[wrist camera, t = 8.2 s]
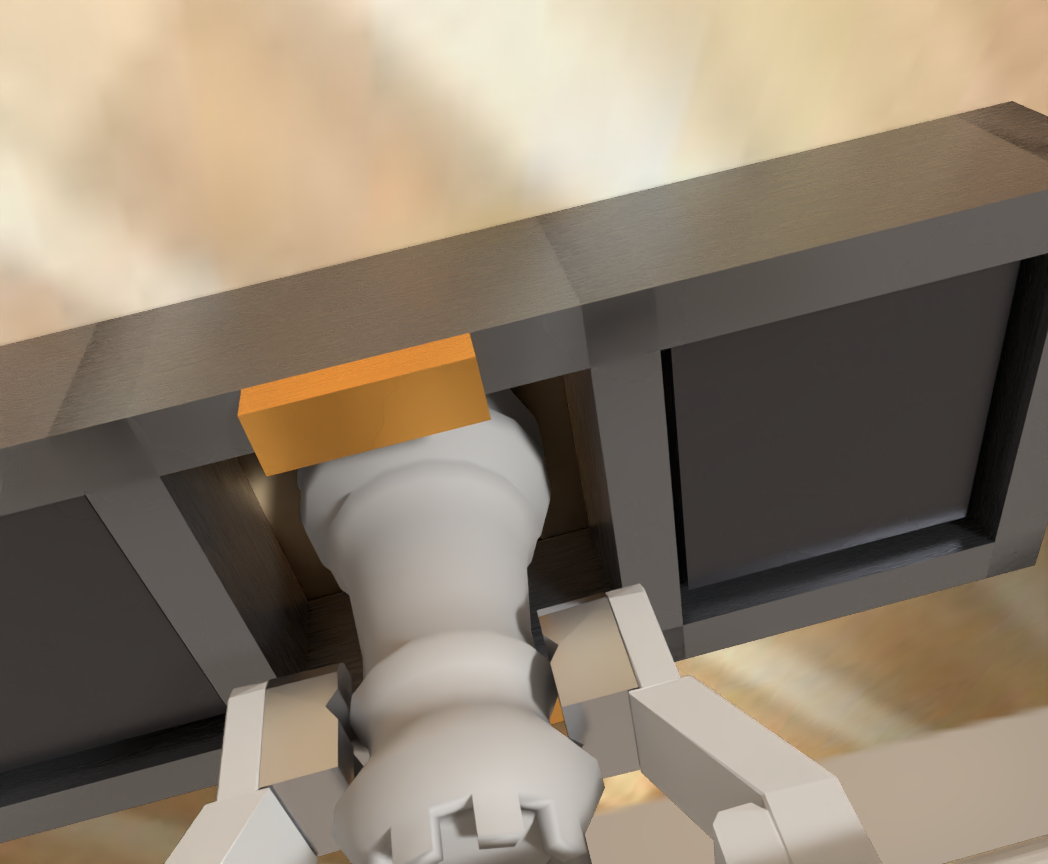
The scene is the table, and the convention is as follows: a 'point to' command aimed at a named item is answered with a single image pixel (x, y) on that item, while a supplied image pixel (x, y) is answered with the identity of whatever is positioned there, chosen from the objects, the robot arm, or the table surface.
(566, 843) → the rook chess piece
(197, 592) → the rack
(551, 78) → the table surface
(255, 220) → the table surface
